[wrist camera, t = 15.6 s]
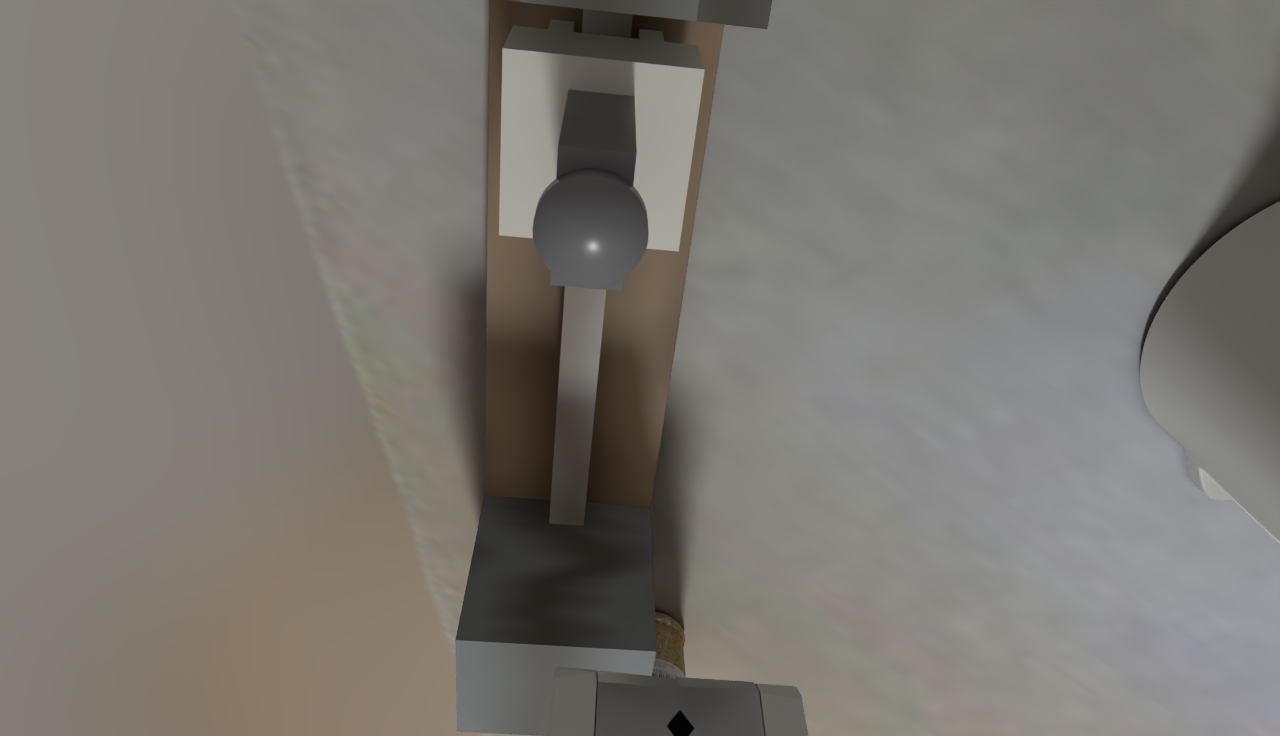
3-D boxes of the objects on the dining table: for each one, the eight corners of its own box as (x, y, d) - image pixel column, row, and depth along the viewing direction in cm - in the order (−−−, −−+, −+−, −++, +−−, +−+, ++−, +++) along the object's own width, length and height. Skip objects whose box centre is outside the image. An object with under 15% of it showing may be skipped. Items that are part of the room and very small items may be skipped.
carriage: (694, 34, 30) (723, 132, 21) (672, 199, 33) (689, 342, 24) (518, 15, 29) (474, 107, 21) (513, 184, 32) (473, 324, 24)
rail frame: (758, -246, 27) (819, -265, 19) (637, 571, 47) (640, 740, 38) (498, -281, 26) (441, -316, 18) (487, 561, 46) (456, 731, 38)
